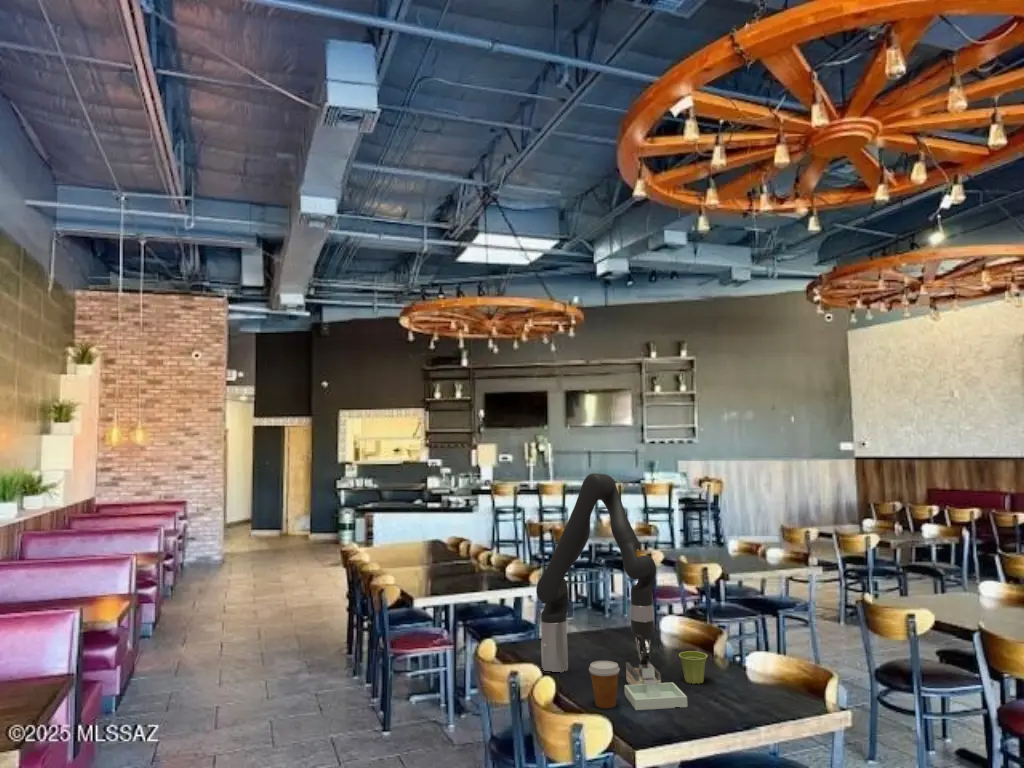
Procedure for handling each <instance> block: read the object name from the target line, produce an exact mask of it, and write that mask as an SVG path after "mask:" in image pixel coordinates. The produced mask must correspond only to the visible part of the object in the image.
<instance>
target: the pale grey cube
mask: <svg viewBox="0 0 1024 768" xmlns="http://www.w3.org/2000/svg"><path fill="white" fill-rule="evenodd" d="M643 681H644V694H645V695H646V696H647V697H660V684H659V682H658V681H657V680H656V679H655V680H643Z"/></svg>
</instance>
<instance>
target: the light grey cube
mask: <svg viewBox="0 0 1024 768" xmlns="http://www.w3.org/2000/svg"><path fill="white" fill-rule="evenodd" d="M651 664H652V663H651ZM651 664H640V663H639V664H638V668H639V677H640V678H641V680H642V681H643V680H655V669H654V667H655V666H654V665H653V664H652V665H653V666H654V667H653V666H652V665H651Z"/></svg>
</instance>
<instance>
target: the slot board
mask: <svg viewBox="0 0 1024 768" xmlns="http://www.w3.org/2000/svg"><path fill="white" fill-rule="evenodd" d="M647 661H648V664H651V665H652V666H653V667H654V669H655V679H656V680H657V681H658V682H659V683H662V675H661V672H660V671H659V670H658V669H657V668H656V667H655V666H654V665H653V664H652V663H651V662H650V660H647ZM625 671H626V672H625V673H626V675H625V676H626V682H627V683H628V685H637V684H644V681H642V680H641V678H640V677H639V667H633V666H632V665H631V663H630V662H629V661H626V662H625Z"/></svg>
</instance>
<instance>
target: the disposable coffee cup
mask: <svg viewBox="0 0 1024 768" xmlns="http://www.w3.org/2000/svg"><path fill="white" fill-rule="evenodd" d="M620 670H621V668H620V667H619V664H618V663H617V662H616V661H615V662H614V661H610V660H595V661H593V662H591V663H590V665H589V668H588V671H589V673H590V679H591V684H592V691H593V696H594V704H595V706H596V707H597V708H600V709H612V708H614V707H616V705H617V696H618V695H617V694H618V680H619V672H620Z"/></svg>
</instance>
